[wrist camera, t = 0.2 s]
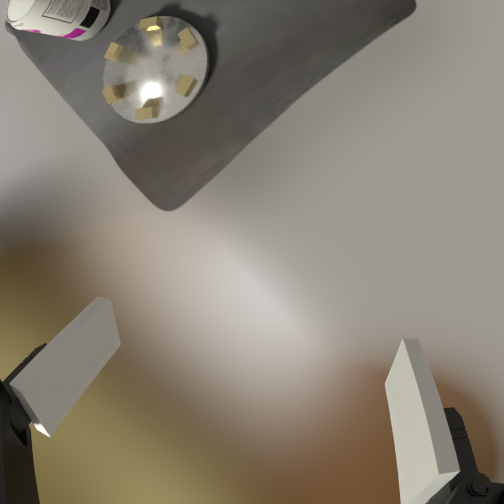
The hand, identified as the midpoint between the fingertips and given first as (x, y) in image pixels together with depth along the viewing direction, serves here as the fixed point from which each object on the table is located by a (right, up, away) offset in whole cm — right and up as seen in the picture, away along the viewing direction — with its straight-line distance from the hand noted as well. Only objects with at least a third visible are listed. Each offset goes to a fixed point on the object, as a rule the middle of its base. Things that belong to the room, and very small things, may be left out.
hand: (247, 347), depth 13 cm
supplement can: (-24, +39, +19) cm, 50 cm away
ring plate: (-12, +28, +22) cm, 37 cm away
